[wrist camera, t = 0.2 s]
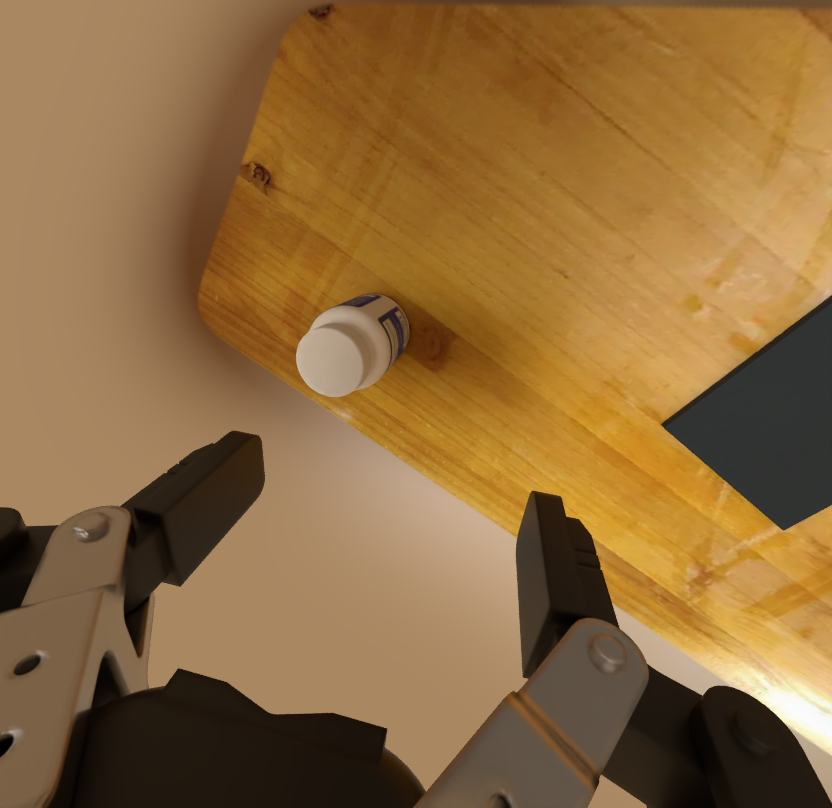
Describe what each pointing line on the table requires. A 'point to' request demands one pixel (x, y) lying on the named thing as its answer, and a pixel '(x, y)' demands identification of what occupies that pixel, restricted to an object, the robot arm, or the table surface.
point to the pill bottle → (352, 345)
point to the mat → (771, 423)
